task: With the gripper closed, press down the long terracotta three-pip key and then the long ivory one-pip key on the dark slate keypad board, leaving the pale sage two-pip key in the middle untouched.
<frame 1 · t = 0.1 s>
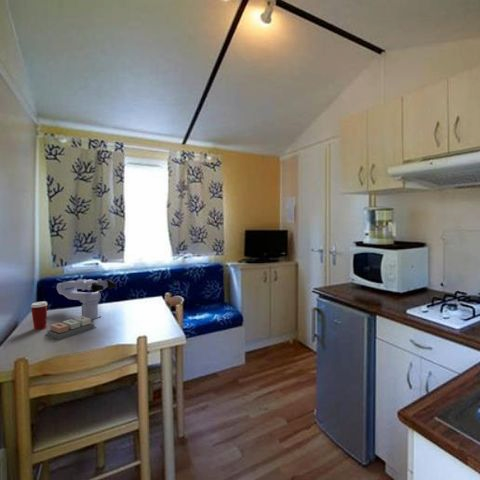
hand: (109, 286, 164), 22 cm above the table, tool horizontal, fingers open, 7 cm apart
keypad board: (71, 331, 154), on the table
key one: (82, 320, 159), point 4 cm above the table, slide at 0.0 cm
key two: (71, 323, 153), point 4 cm above the table, slide at 0.0 cm
key three: (59, 327, 148), point 4 cm above the table, slide at 0.0 cm
paper cup: (40, 328, 158), on the table
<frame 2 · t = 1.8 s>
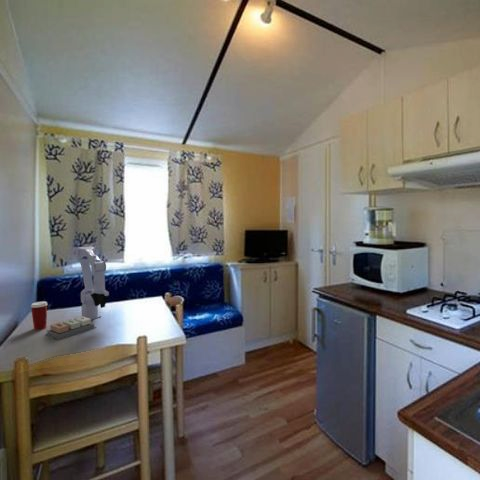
hand: (100, 306, 163), 10 cm above the table, tool pointing down, fingers open, 5 cm apart
nothing on the table moved.
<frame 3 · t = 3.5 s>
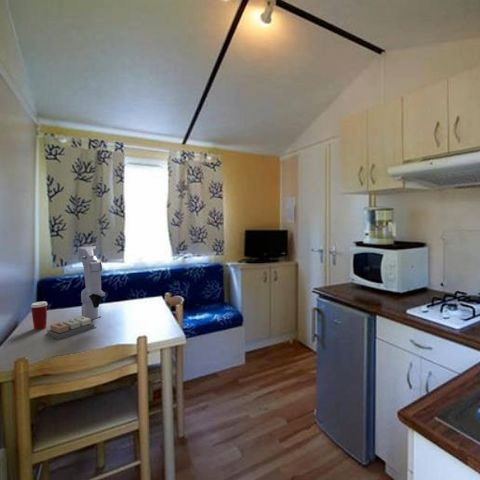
hand: (96, 307, 161), 10 cm above the table, tool pointing down, fingers closed
nothing on the table moved.
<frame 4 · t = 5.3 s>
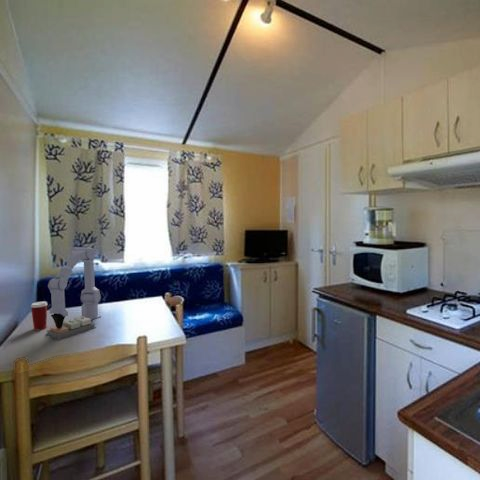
hand: (59, 327, 148), 4 cm above the table, tool pointing down, fingers closed, pressing on key three
key three: (59, 329, 149), point 3 cm above the table, slide at 1.3 cm, touching gripper
everything else where it was.
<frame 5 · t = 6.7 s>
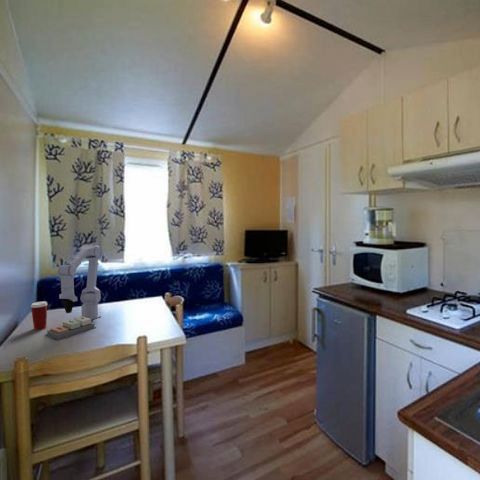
hand: (68, 312, 152), 10 cm above the table, tool pointing down, fingers closed
key three: (59, 330, 149), point 2 cm above the table, slide at 1.7 cm
everything else where it was.
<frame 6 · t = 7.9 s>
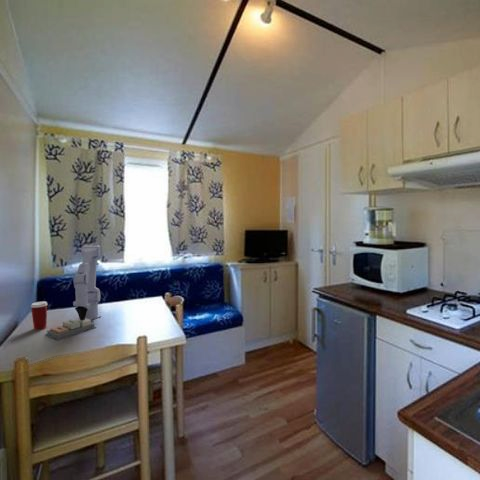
hand: (82, 319, 158), 5 cm above the table, tool pointing down, fingers closed, pressing on key one
key one: (82, 321, 159), point 3 cm above the table, slide at 0.6 cm, touching gripper
everything else where it was.
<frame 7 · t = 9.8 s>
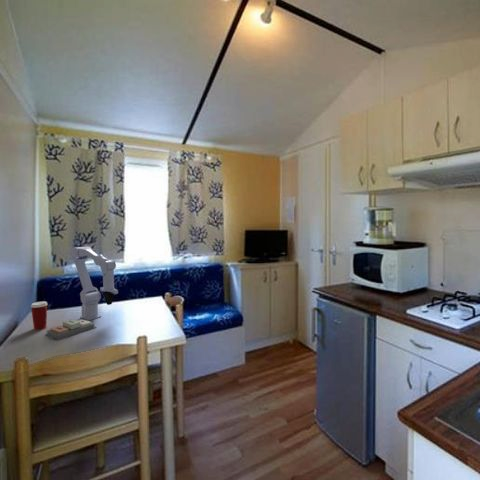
hand: (109, 304, 167), 10 cm above the table, tool pointing down, fingers closed
key one: (82, 323, 159), point 2 cm above the table, slide at 1.7 cm
everything else where it was.
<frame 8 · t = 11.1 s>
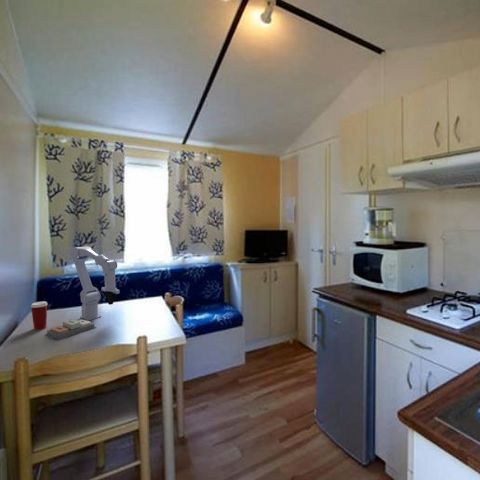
hand: (110, 304, 167), 10 cm above the table, tool pointing down, fingers closed
nothing on the table moved.
at the end: key three slide at 1.7 cm; key one slide at 1.7 cm; key two slide at 0.0 cm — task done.
